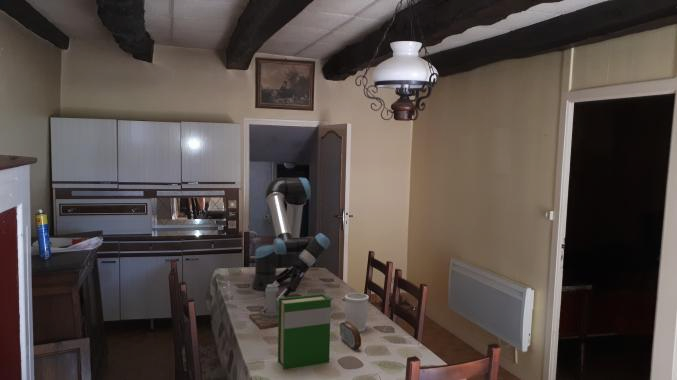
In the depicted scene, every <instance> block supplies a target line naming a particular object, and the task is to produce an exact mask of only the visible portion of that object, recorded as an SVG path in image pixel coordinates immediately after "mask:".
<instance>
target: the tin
mask: <svg viewBox="0 0 677 380" xmlns="http://www.w3.org/2000/svg"><path fill="white" fill-rule="evenodd" d="M339 333H340V334H339V335H340V337H341V340H342V341H343V343H344V344H346V345H347V346H348V347H349V348H350V349H353V350H356V349H360V348H361V346H362V337H361V334H360V333H361V332H359V331H358V329H357V328H356V327H355V326H353V325H352V324H351V323H350V322H348V321H346V320H345V321H343V322H341V323H340V325H339Z"/></svg>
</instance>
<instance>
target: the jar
mask: <svg viewBox="0 0 677 380" xmlns="http://www.w3.org/2000/svg"><path fill="white" fill-rule="evenodd" d="M369 297H370V296H369V295H368V294H365V293H361V292H360V293H359V292H352V293H350V292H349V293H347V294H345V296H344V299H345V301H344V302H345V303H344V317H345V322H346V321H348V322H350V323H351V324H352V325H353V326H355V327H356V328H357V329H358V331H359V333H363V332H365V330H366V324H367V320H368V316H369V301H368V300H369V299H370V298H369Z"/></svg>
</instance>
